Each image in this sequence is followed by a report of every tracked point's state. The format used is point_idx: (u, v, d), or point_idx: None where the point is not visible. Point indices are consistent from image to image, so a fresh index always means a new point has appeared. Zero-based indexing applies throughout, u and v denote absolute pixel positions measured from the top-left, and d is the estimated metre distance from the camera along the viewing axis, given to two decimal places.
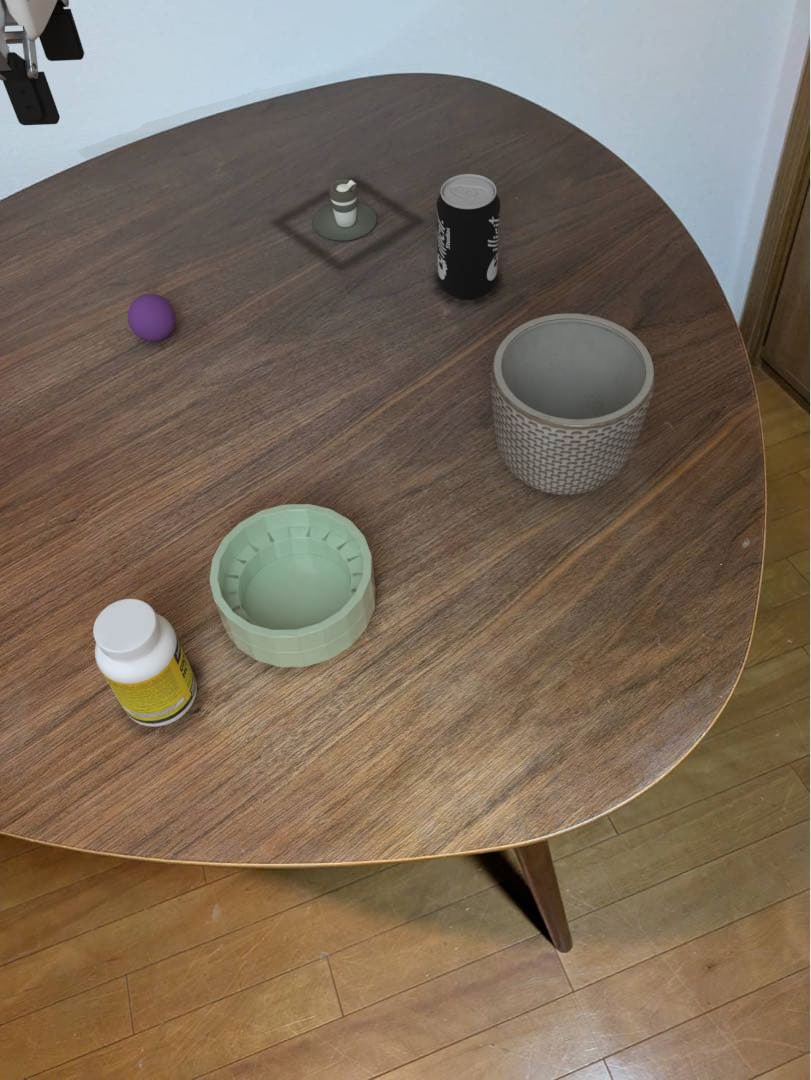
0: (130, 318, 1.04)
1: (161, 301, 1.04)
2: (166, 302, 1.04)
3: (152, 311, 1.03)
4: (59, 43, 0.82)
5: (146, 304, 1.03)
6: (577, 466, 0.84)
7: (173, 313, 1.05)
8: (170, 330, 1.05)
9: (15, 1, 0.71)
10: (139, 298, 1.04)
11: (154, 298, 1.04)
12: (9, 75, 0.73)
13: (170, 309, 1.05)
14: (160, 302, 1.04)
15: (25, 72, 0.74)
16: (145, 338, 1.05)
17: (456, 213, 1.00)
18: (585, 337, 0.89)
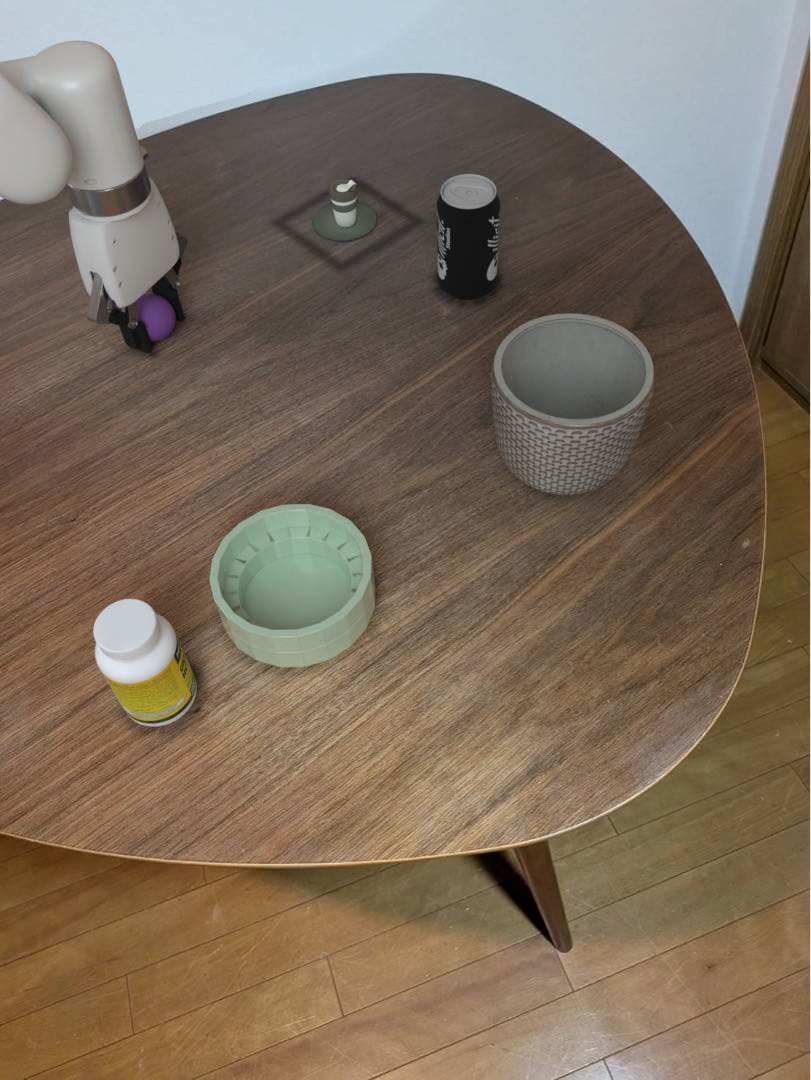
0: None
1: (161, 301, 1.04)
2: (166, 302, 1.04)
3: (152, 311, 1.03)
4: None
5: (146, 304, 1.03)
6: (577, 466, 0.84)
7: (173, 313, 1.05)
8: (170, 330, 1.05)
9: (109, 286, 0.96)
10: (139, 298, 1.04)
11: (155, 298, 1.04)
12: None
13: (170, 310, 1.05)
14: (160, 302, 1.04)
15: (125, 323, 1.01)
16: None
17: (456, 213, 1.00)
18: (585, 337, 0.89)
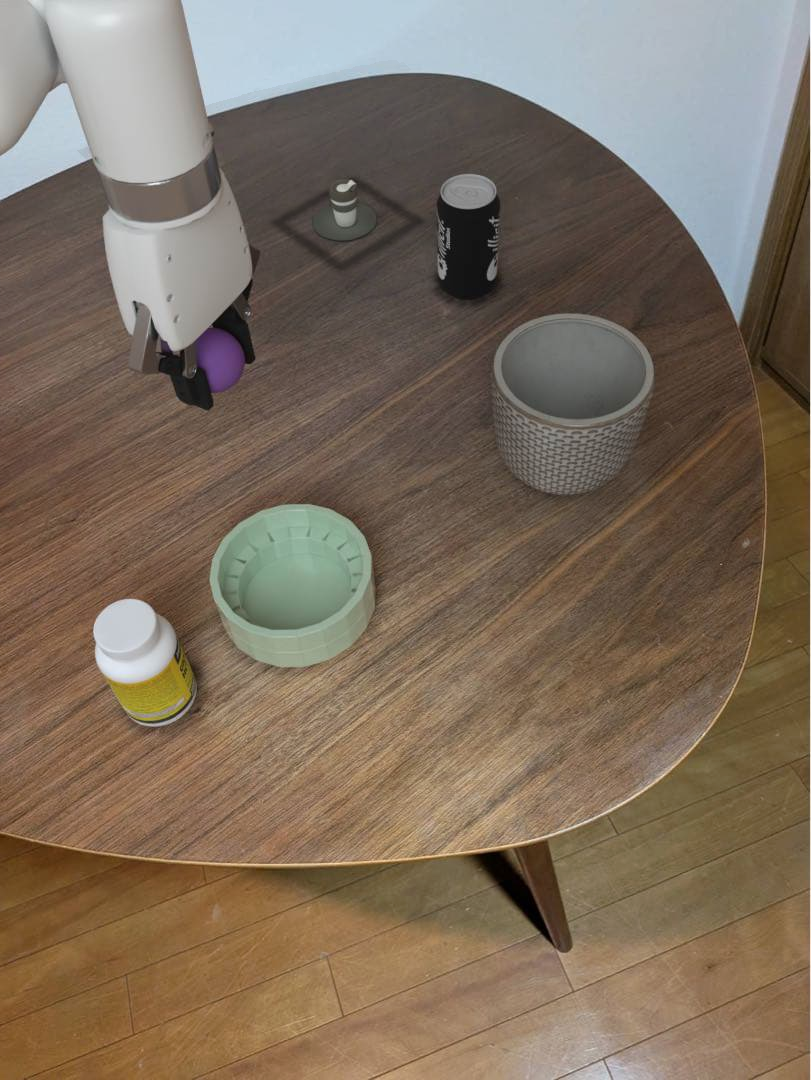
0: None
1: (226, 337, 0.75)
2: (233, 339, 0.75)
3: (215, 353, 0.74)
4: None
5: (206, 343, 0.74)
6: (577, 466, 0.84)
7: (242, 354, 0.76)
8: (238, 377, 0.76)
9: (161, 322, 0.67)
10: None
11: (217, 334, 0.75)
12: None
13: (239, 349, 0.76)
14: (225, 340, 0.75)
15: (180, 372, 0.72)
16: None
17: (456, 213, 1.00)
18: (585, 337, 0.89)
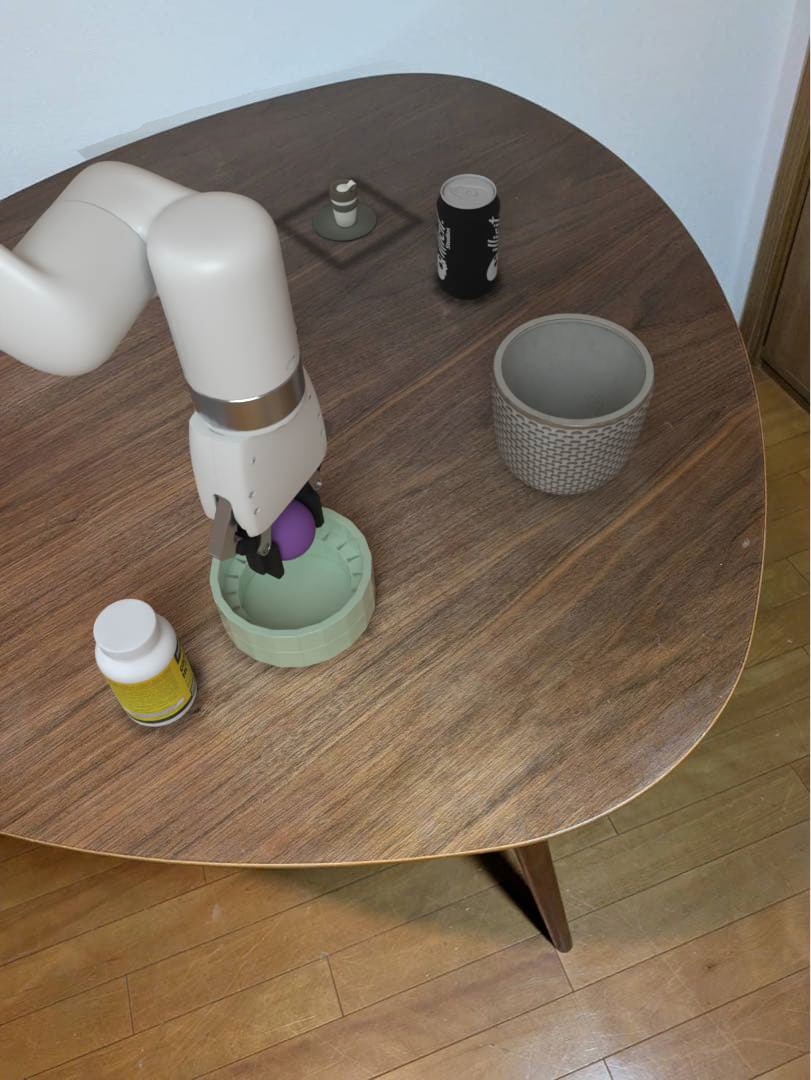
0: None
1: (299, 510, 0.76)
2: (305, 510, 0.76)
3: (288, 527, 0.75)
4: None
5: (279, 517, 0.75)
6: (577, 466, 0.84)
7: (314, 524, 0.77)
8: (309, 546, 0.77)
9: (241, 514, 0.68)
10: None
11: (290, 507, 0.76)
12: None
13: (310, 520, 0.76)
14: (298, 513, 0.76)
15: (255, 550, 0.73)
16: None
17: (456, 213, 1.00)
18: (585, 337, 0.89)
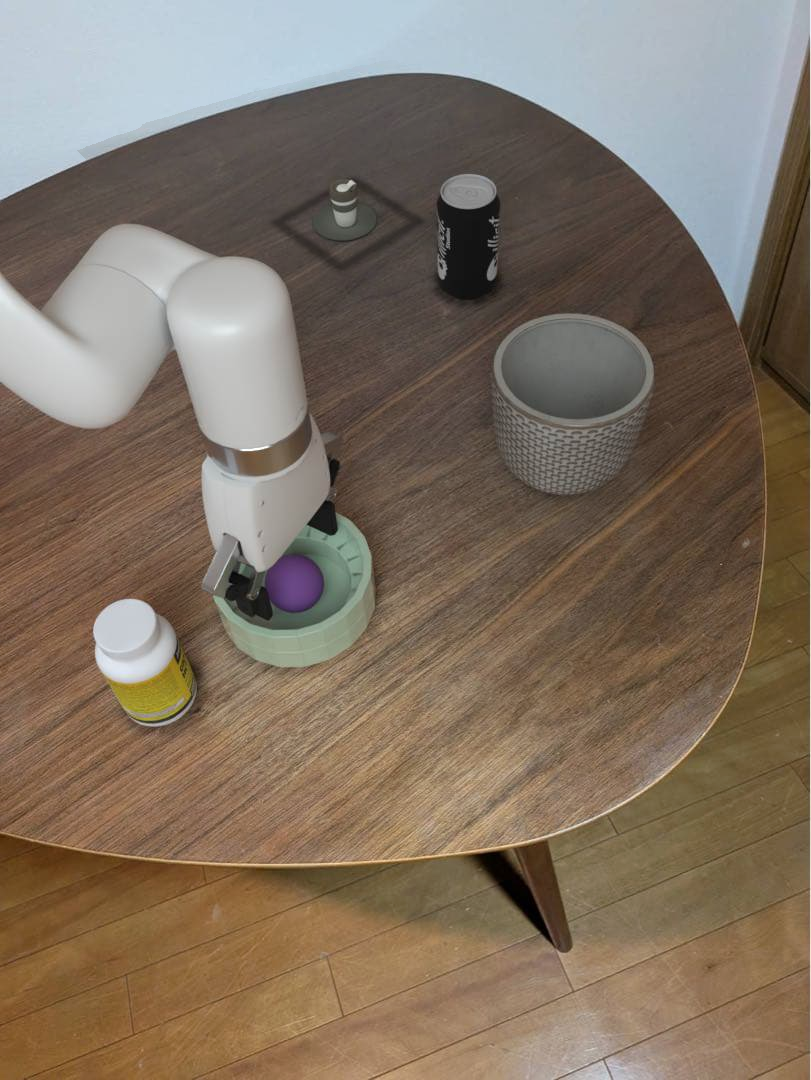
0: (270, 589, 0.82)
1: (309, 567, 0.82)
2: (314, 567, 0.83)
3: (299, 584, 0.81)
4: (316, 520, 0.83)
5: (291, 574, 0.81)
6: (577, 466, 0.84)
7: (322, 579, 0.83)
8: None
9: (250, 552, 0.71)
10: (281, 564, 0.82)
11: (301, 564, 0.82)
12: None
13: (319, 576, 0.83)
14: (308, 569, 0.82)
15: (244, 595, 0.75)
16: (287, 611, 0.83)
17: (456, 213, 1.00)
18: (585, 337, 0.89)
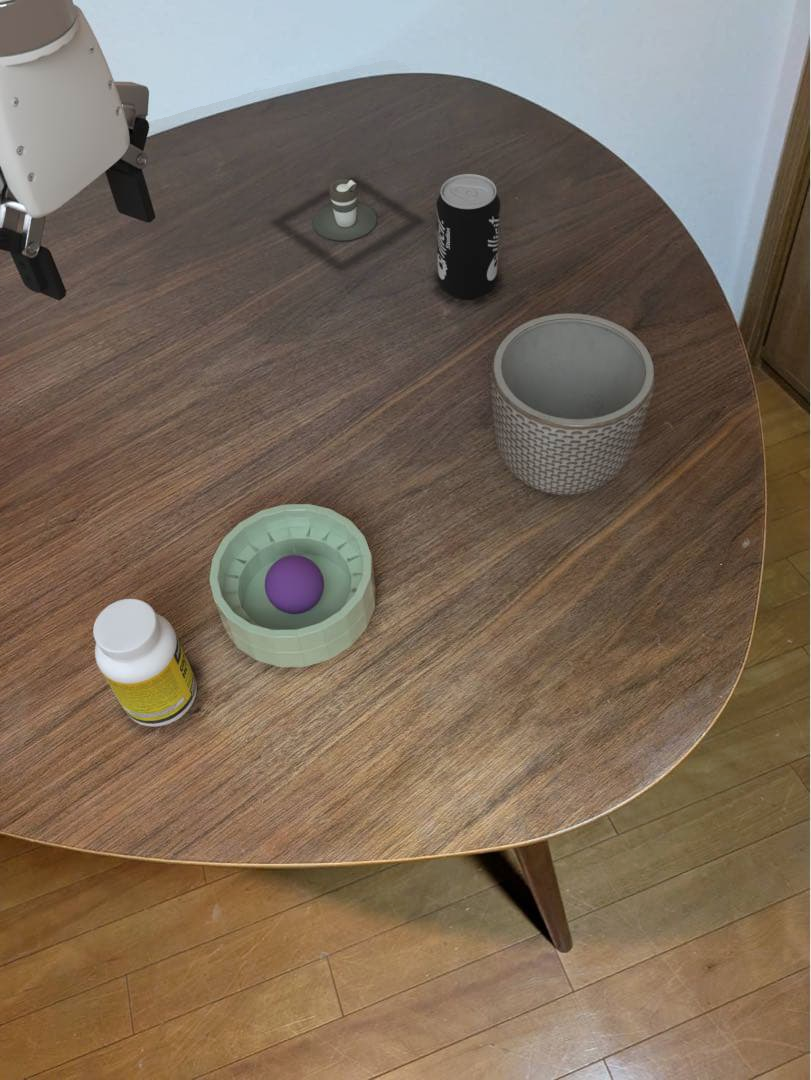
0: (270, 591, 0.82)
1: (309, 569, 0.82)
2: (314, 568, 0.82)
3: (299, 586, 0.81)
4: (128, 201, 0.72)
5: (291, 577, 0.81)
6: (577, 466, 0.84)
7: (322, 580, 0.83)
8: (318, 601, 0.83)
9: (13, 179, 0.60)
10: (281, 566, 0.82)
11: (301, 566, 0.82)
12: None
13: (319, 578, 0.83)
14: (308, 571, 0.82)
15: (18, 249, 0.64)
16: (287, 612, 0.83)
17: (456, 213, 1.00)
18: (585, 337, 0.89)
